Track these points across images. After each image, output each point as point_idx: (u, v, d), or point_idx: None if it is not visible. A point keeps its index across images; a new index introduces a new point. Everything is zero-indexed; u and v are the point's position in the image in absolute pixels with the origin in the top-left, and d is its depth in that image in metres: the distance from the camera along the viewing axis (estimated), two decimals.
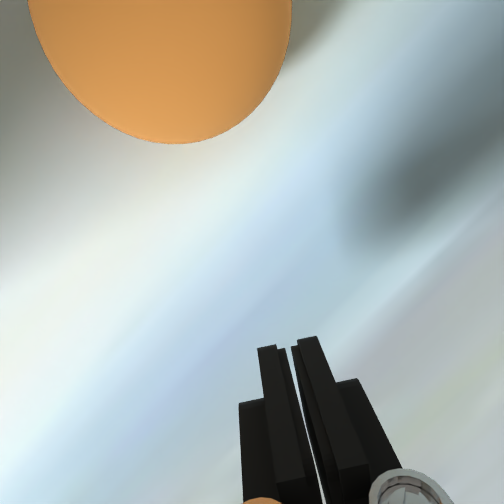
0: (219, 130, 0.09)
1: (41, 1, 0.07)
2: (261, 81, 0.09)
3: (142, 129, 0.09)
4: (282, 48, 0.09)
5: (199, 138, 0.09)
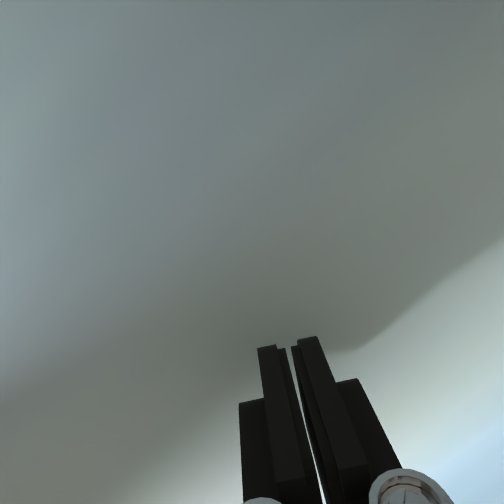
0: None
1: None
2: None
3: None
4: None
5: None
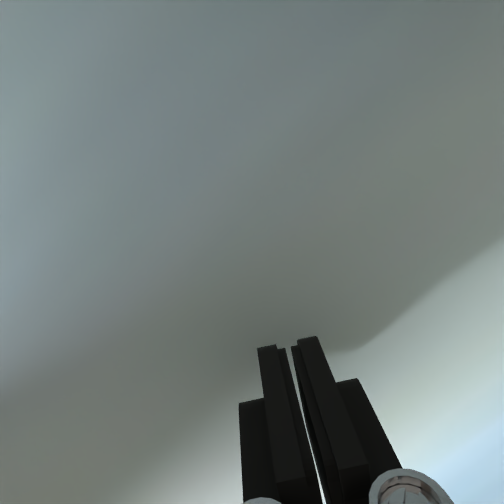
0: None
1: None
2: None
3: None
4: None
5: None
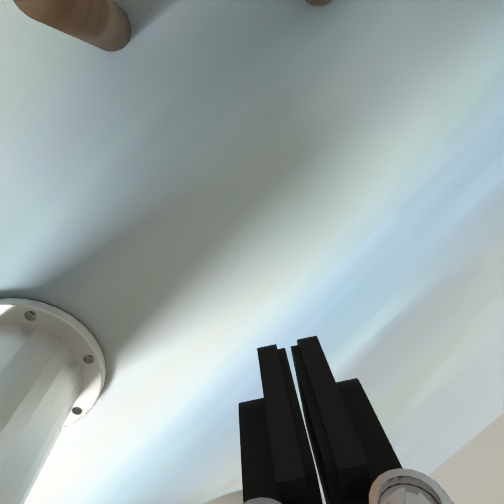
0: None
1: None
2: None
3: None
4: None
5: None
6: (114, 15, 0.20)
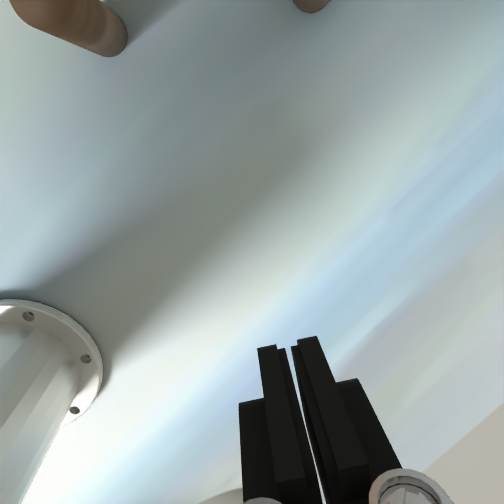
0: None
1: None
2: None
3: None
4: None
5: None
6: (111, 22, 0.20)
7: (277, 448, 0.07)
